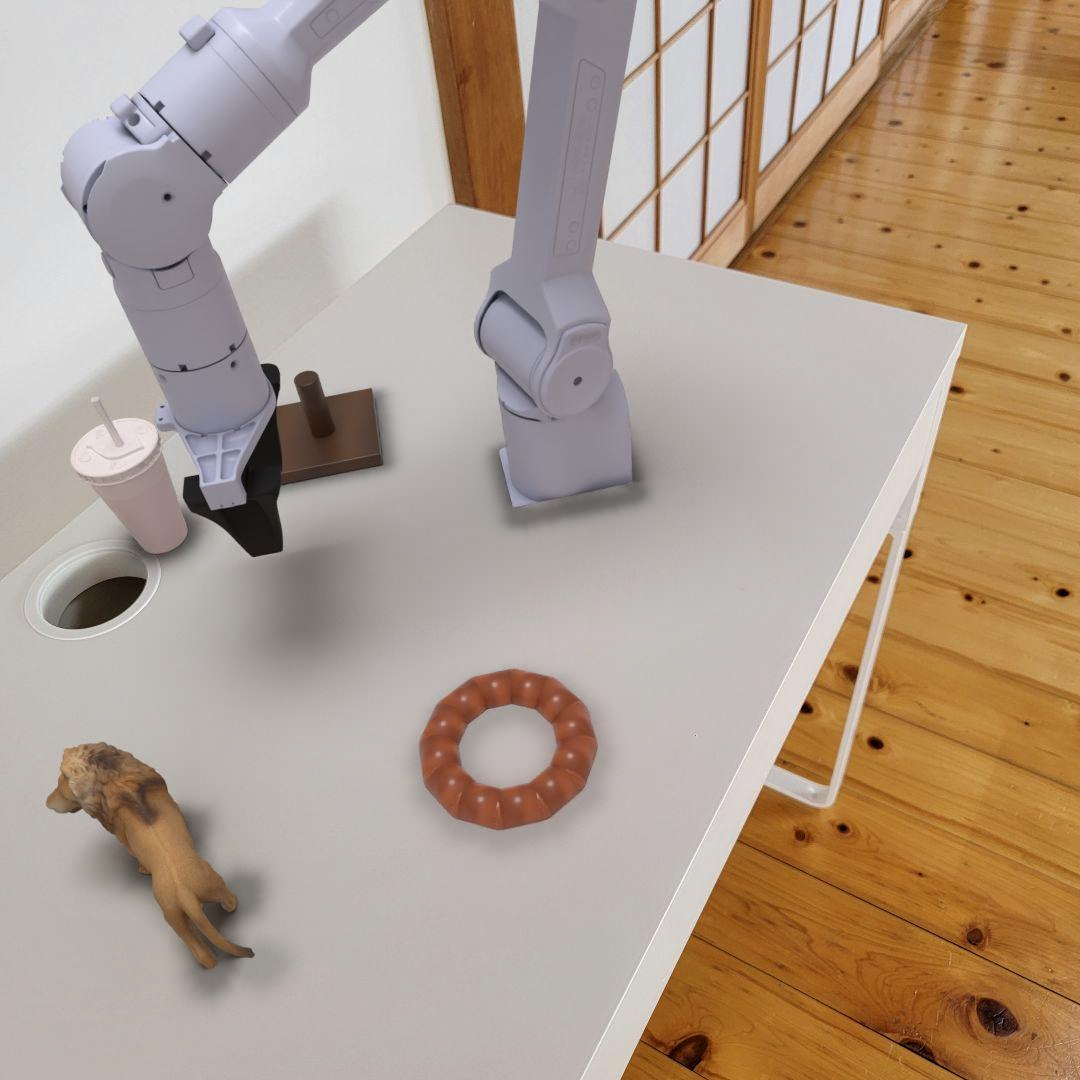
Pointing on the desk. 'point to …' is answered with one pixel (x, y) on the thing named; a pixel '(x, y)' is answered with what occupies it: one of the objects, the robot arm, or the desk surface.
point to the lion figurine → (148, 837)
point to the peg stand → (327, 431)
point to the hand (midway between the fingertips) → (267, 509)
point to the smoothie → (132, 479)
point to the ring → (516, 801)
